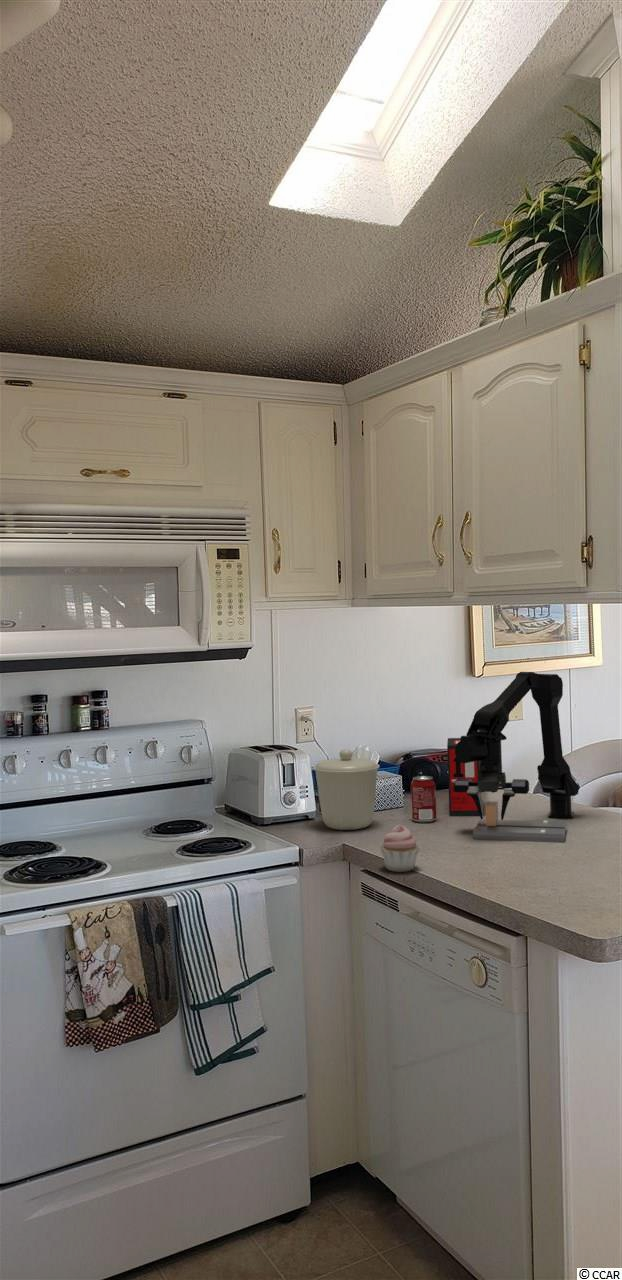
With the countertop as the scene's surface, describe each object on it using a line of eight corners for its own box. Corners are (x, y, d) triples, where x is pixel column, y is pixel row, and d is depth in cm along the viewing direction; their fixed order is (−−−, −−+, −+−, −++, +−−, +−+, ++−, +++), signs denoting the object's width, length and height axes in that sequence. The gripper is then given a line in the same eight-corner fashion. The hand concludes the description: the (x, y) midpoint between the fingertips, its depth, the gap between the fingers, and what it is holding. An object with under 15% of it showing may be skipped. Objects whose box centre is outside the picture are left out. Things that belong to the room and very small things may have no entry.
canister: (316, 835, 245) (313, 755, 244) (313, 820, 263) (311, 746, 262) (385, 832, 245) (382, 752, 245) (377, 818, 263) (375, 743, 263)
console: (480, 826, 248) (480, 818, 248) (566, 829, 241) (565, 820, 241) (473, 838, 235) (472, 829, 235) (563, 842, 228) (563, 832, 228)
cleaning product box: (449, 804, 279) (447, 738, 279) (480, 804, 278) (478, 737, 277) (449, 816, 263) (447, 745, 262) (481, 816, 261) (479, 745, 261)
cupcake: (387, 876, 203) (385, 830, 203) (374, 865, 212) (372, 821, 212) (427, 872, 205) (426, 826, 205) (413, 861, 214) (411, 818, 214)
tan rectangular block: (488, 825, 243) (488, 801, 243) (498, 825, 243) (497, 801, 243) (486, 830, 238) (485, 806, 238) (495, 830, 237) (495, 806, 237)
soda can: (435, 823, 254) (434, 779, 253) (410, 823, 255) (409, 779, 255) (437, 818, 260) (436, 775, 260) (413, 818, 262) (411, 775, 261)
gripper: (449, 763, 235) (450, 824, 235) (524, 764, 229) (526, 827, 230) (455, 756, 246) (457, 815, 246) (528, 757, 240) (530, 817, 240)
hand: (492, 819), depth 240 cm, fingers open, 5 cm apart
